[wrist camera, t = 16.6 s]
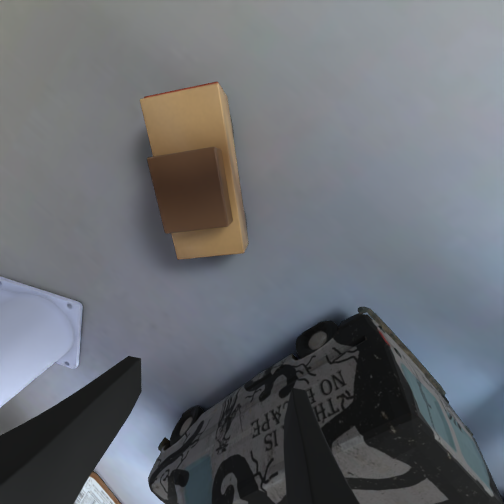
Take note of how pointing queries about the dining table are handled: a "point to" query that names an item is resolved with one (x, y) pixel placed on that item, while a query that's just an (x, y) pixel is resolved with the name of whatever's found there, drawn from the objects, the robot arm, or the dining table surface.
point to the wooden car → (196, 171)
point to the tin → (96, 492)
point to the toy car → (331, 428)
